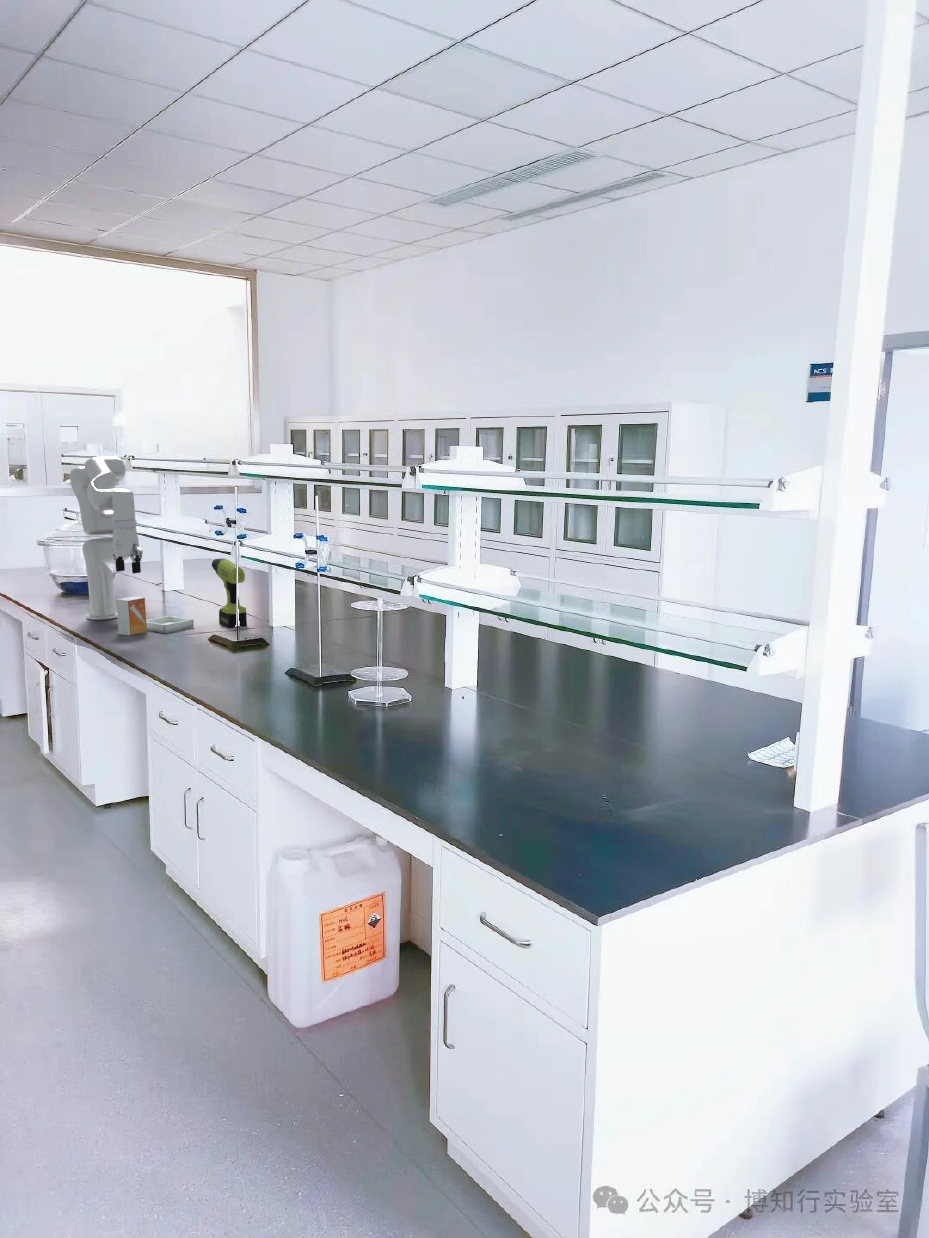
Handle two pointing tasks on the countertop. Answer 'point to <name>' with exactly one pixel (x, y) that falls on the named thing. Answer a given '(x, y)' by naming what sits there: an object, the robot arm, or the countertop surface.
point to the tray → (169, 624)
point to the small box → (131, 615)
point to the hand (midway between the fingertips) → (128, 572)
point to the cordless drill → (230, 593)
